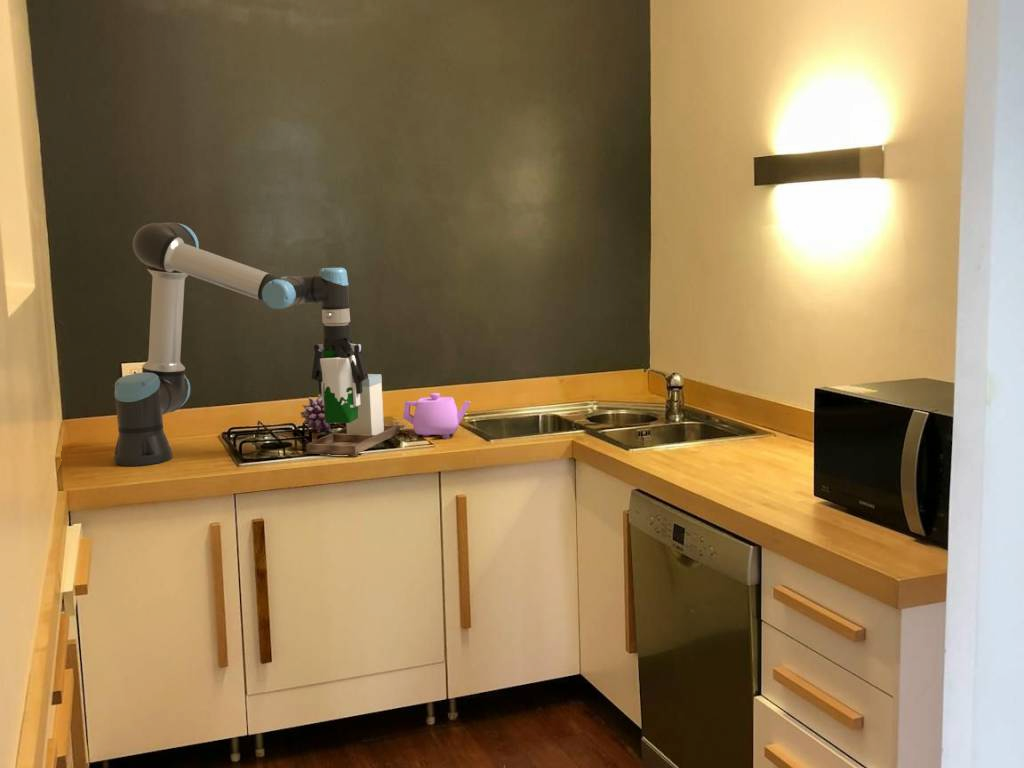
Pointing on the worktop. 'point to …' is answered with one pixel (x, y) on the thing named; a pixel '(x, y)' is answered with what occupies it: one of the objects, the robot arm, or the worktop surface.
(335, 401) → the soya milk
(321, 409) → the purple spiky ball
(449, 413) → the teapot
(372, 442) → the tray
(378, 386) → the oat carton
